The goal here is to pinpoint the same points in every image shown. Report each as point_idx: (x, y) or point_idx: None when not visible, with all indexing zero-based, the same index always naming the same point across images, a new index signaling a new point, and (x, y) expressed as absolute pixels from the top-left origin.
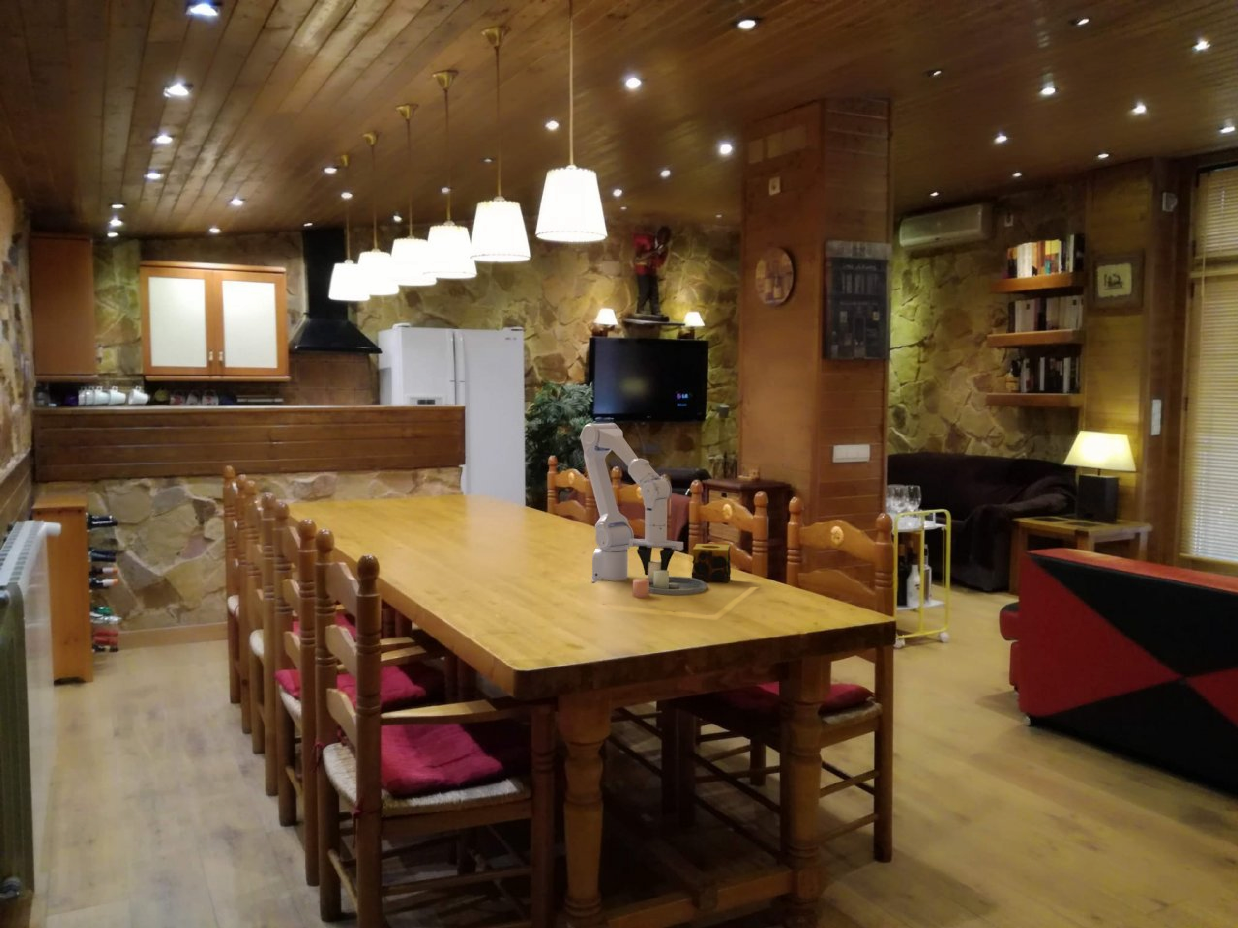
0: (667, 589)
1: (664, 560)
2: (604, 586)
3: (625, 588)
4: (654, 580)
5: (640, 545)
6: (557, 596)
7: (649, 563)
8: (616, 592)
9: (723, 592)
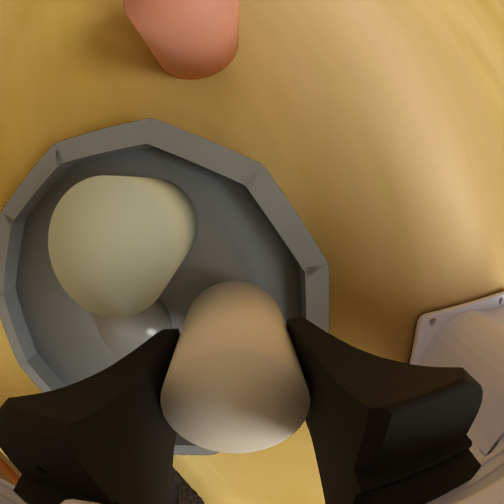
0: (72, 152)
1: (93, 383)
2: (466, 251)
3: (387, 260)
4: (160, 185)
5: (461, 488)
6: (489, 33)
7: (275, 356)
8: (389, 151)
9: (11, 366)
